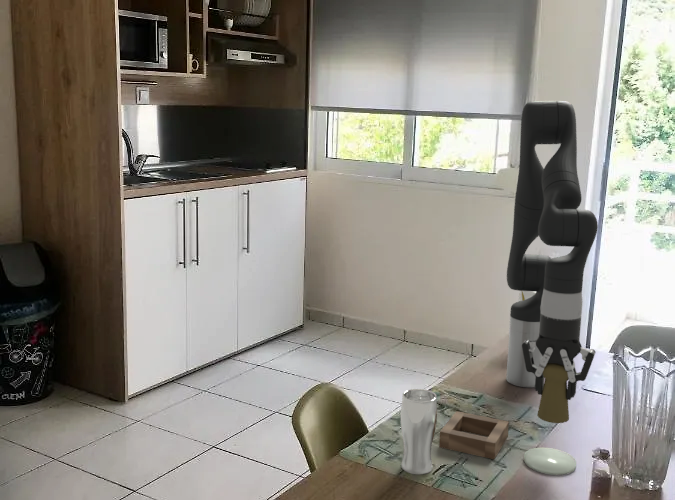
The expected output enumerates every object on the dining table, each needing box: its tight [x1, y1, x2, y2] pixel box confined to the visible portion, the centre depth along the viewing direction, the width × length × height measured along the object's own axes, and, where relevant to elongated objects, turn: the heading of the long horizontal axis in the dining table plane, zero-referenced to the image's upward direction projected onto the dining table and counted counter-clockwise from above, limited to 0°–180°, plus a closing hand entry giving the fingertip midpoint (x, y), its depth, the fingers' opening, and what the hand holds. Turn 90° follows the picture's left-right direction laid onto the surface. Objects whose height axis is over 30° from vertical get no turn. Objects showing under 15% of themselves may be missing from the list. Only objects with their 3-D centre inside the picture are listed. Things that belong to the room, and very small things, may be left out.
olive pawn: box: [537, 363, 570, 424], centre depth 145 cm, size 6×6×11 cm
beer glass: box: [400, 388, 438, 475], centre depth 144 cm, size 7×7×15 cm
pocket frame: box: [438, 410, 510, 460], centre depth 156 cm, size 12×12×4 cm
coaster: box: [523, 447, 577, 476], centre depth 148 cm, size 10×10×1 cm
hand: (554, 395), depth 145 cm, fingers closed on olive pawn, 5 cm apart
